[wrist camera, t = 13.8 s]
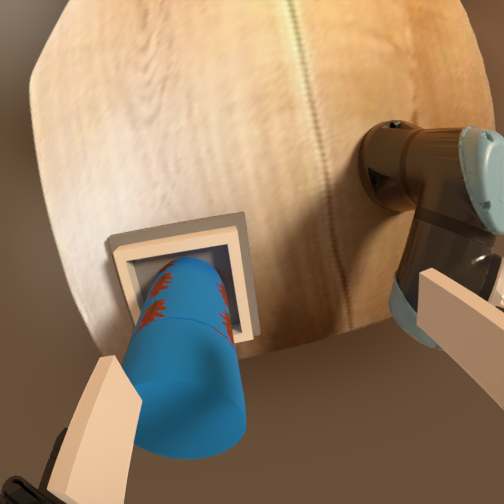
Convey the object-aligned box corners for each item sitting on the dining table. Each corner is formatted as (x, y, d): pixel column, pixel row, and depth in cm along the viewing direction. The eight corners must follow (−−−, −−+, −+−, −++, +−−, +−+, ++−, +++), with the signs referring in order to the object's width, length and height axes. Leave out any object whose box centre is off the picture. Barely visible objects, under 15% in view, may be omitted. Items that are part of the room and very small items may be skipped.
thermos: (236, 305, 44) (268, 440, 20) (175, 331, 44) (162, 467, 20) (205, 243, 40) (205, 357, 17) (140, 274, 40) (82, 397, 17)
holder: (243, 211, 41) (247, 217, 37) (259, 329, 48) (264, 345, 43) (110, 235, 39) (100, 243, 35) (144, 346, 46) (140, 362, 41)
